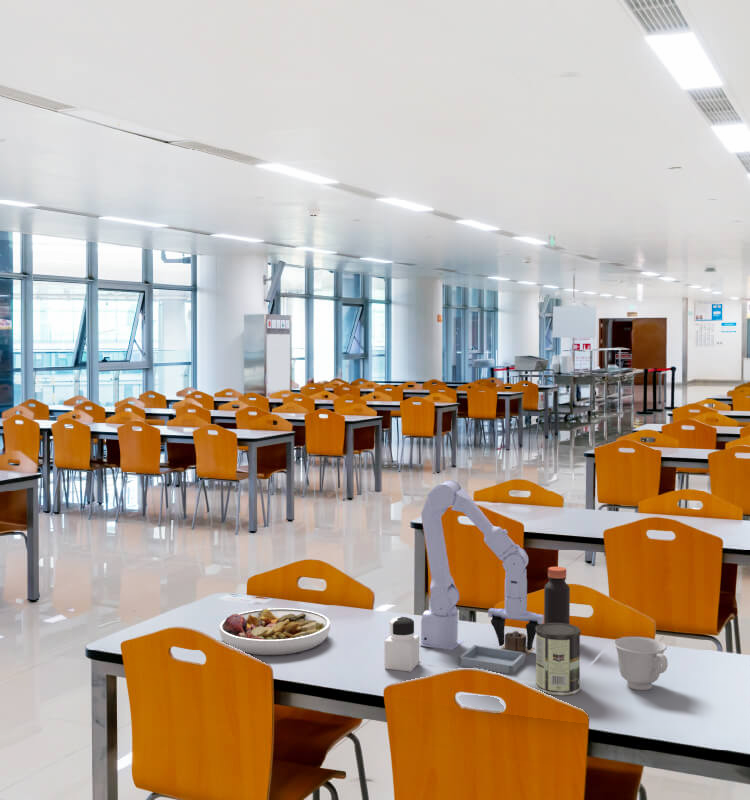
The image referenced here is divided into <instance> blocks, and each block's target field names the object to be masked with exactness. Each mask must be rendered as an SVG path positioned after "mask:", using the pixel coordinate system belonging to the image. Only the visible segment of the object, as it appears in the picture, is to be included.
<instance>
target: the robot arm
mask: <svg viewBox="0 0 750 800" xmlns="http://www.w3.org/2000/svg"><path fill="white" fill-rule="evenodd" d="M450 507H451V511H454V512H455V511H456V512H460V513H463V514H464V515H465V516H466V517H467V518H468V519H469V520H470V521H471V522H472V523H473V524H474V525H475V527H476V528H478V529H479V531H480V532H482V533H483V537H484V538H483V542H484V543H485V544H486V545H487V546H488V548H489V549H490V550H491V552H492V553H494V554H495V556H496V557H497V558H498V560H500V561H502V567H503V569H504V571H505V578H504V608H492V607H491V608H489V609H488V610H487V611H488V614H487V617H488V618H491V619H490V623H491V626H492V627H493V630H494V632H495V634H496V637H497V641H498V642H497V643H498V646H499V647H503V646H504V645H505V626H506V625H505V624H506V620H514V621H522V622H528V623H526V624H525V630H526V647H527V650H531V649H532V648H533V644H534V641H535V638H536V626H538V625H540V624H544V614H538V613H536V612H531V611H527V610H528V609H527V608H528V607H527V606H528V603H527V602H528V579H527V575H528V574H527V568H526V567H527V566H528V565H529V556H528V554H527V552H526V550H525V549H523V548H522V547H520V545H519V544H518V543H517V544H516V543H515V542H514V541H513V540H512V539H511V537H509V535H508V533H509V532H508V530H507V529H505V528H504V529H503V528H502V527H501V526H495V525H493V523H491V521H490V520H489V518H488V517H487V516H486V514H484V512H483V511H482V510H481V509H480V507H479V505H477V503H475V501H474V500H473V499H472V498H471V496H470V495H469V493H468V492H467V490H466V489H464V488H462V487H461V485H460V484H459V483H458V481H455V480H451V479H450V480H449V479H448V480H445V481H443V482H442V483H440V484H438V485H437V484H436V486H434V487H433V488H432V490H430V492H429V493H427V498H426V501H425V502H424V506H423V508H422V511H421V513H420V514H421V521H422V527H423V534H424V540H425V545H426V552H427V558H428V564H429V565H428V566H429V570H430V576H431V582H430V587H429V591H430V595H429V599H428V606H429V608H430V609H426V610H424V611H423V613H422V616H421V621H420V628H421V629H420V630H421V631H420V632H421V633H420V641H421V642H420V643H419V647H420V646H421V647H427V648H432V649H433V648H438V649H445V650H450V651H451V650H454V649H455V648H456V647H458V646H459V645H461V644H462V643H463V642H464V641H463V640H460V639H458V635H459V633H458V631H459V629H458V627H459V617H458V615H459V610H458V608H457V606H456V605H457V603H458V602H459V600H460V593H459V589H458V588H457V587H456V584H455V581H454V578H453V576H452V574H451V572H450V566H449V565H450V564H449V559H448V554H447V546H446V542H445V535H444V528H443V522H442V516H444V514H445V512H446V511H447V510H448V509H449V508H450Z"/></svg>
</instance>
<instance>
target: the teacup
mask: <svg viewBox="0 0 750 800" xmlns="http://www.w3.org/2000/svg"><path fill="white" fill-rule="evenodd" d="M613 645H614V647H615V648H616V653H617V661H618V668H619V673H620V676H621V677H622V678H623V679H624V680H625V681H627V682H626V685H627V687H628V688H631V689H633V690H637V691H648V690H651V689H652V688H653V684H654V683H655V682H657V680H659V677H660V675H661V674H663V673H664V672H665V673H666V671H667V668H668V658H667V656H666V655H665V654H664V653H665V651H666V650H667V649H668V647H667V645H666V644H665V643H664V642H662V641H661V640H659V639H655V638H651V637H645V636H623V637H619V638H617V639H615V640H614V641H613Z"/></svg>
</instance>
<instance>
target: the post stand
mask: <svg viewBox="0 0 750 800" xmlns="http://www.w3.org/2000/svg"><path fill="white" fill-rule="evenodd" d="M512 632H513V637H518V633H519V630H513V631H512ZM535 648H536V647H532V649H531V650H527V646H526V651H525V652H524V653H526V657H527V656H529V655H530V654H531V653H532V652H533V651H534V650H536V649H535ZM500 649H504V650H505V644H503V645H502V646H501V647H500Z"/></svg>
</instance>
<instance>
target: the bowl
mask: <svg viewBox="0 0 750 800" xmlns="http://www.w3.org/2000/svg"><path fill="white" fill-rule="evenodd" d="M330 630H331V621H330V619H329V618H328V617H326V616H325V615H323V614H321V613H318V612H315V611H311V610H307V609H299V608H298V609H297V608H283V607H282V608H264V609H255V610H249V611H244V612H240V613H234V614H233V613H232V614H231V615H229V616H228V617H226V618H225V619H224V620H222V622H221V623H220V624H219V633H220V638H221V639H222V641H223V642H224V643H225V644H226V643H227V644H229V645H231V646H233V647H235V648H237V649H240V650H242V651H245V652H247V653H246V654H249V653H250V655H257V656H258V655H259V656H282V655H291V654H298V653H301V652H306V651H308V650H311V649H313V648H315V647H318V646H319V645H320V644H321V643H323V642H324V641H325V640H326V639H327V637H328V635H329V633H330ZM227 644H226V645H227ZM297 652H298V653H297Z"/></svg>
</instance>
